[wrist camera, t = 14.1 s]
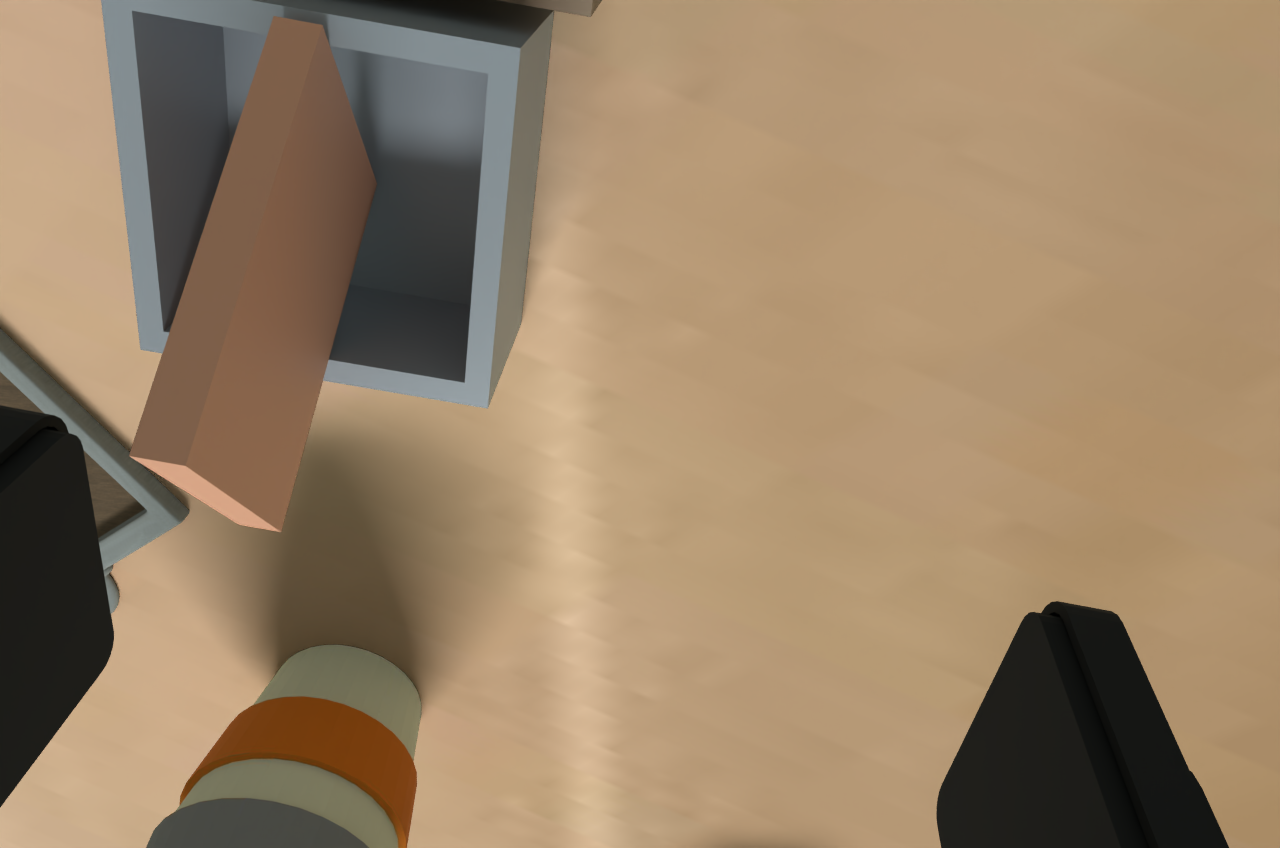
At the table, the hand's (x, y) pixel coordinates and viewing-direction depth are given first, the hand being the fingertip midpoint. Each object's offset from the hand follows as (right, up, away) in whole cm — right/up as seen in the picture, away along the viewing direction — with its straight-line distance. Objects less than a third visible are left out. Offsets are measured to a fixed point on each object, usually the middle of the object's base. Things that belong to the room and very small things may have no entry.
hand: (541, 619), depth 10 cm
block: (-10, +14, +27) cm, 32 cm away
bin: (-10, +14, +34) cm, 38 cm away
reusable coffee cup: (-17, -15, +51) cm, 56 cm away
